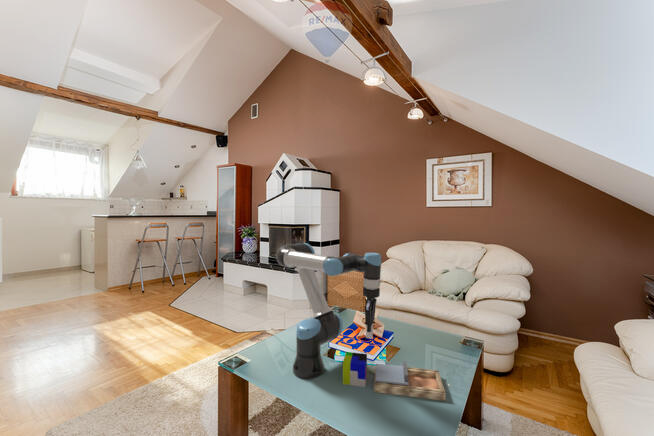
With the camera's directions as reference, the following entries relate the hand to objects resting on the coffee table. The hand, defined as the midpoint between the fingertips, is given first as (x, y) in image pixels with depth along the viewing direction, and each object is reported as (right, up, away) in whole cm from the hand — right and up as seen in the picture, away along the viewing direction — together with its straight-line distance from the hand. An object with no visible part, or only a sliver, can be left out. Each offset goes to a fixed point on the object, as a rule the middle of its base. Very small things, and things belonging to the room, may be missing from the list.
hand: (369, 337), depth 138 cm
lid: (+10, -16, -1) cm, 19 cm away
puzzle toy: (-6, -20, +1) cm, 21 cm away
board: (+17, -20, -3) cm, 26 cm away
